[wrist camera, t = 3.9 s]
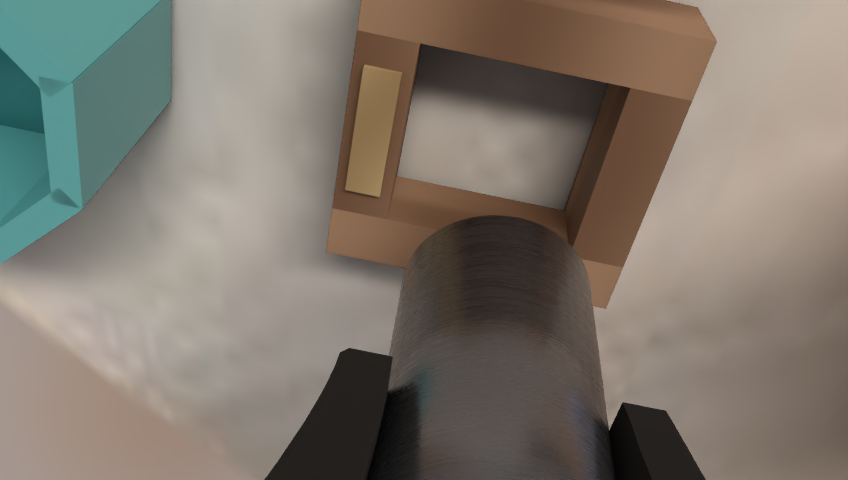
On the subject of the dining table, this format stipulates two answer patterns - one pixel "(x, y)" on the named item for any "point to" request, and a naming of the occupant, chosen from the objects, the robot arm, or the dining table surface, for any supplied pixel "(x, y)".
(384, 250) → the block
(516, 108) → the dining table surface
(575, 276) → the cell
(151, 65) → the cup
